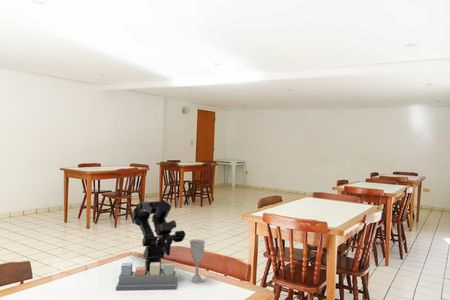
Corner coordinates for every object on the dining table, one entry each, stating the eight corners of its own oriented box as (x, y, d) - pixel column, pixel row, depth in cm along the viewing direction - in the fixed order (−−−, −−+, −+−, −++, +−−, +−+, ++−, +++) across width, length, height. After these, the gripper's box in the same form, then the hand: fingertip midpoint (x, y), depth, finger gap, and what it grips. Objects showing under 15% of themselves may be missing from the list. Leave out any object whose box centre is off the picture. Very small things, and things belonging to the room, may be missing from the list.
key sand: (160, 274, 162) (160, 262, 162) (159, 278, 158) (159, 265, 158) (150, 274, 162) (150, 262, 161) (149, 278, 158) (149, 265, 157)
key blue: (132, 275, 161) (132, 262, 161) (130, 278, 157) (130, 265, 157) (122, 275, 161) (123, 262, 160) (121, 278, 157) (121, 265, 156)
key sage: (173, 274, 162) (173, 262, 162) (173, 277, 158) (173, 265, 158) (164, 274, 162) (164, 262, 162) (163, 277, 158) (164, 265, 158)
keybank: (177, 280, 166) (177, 269, 166) (176, 289, 156) (176, 277, 156) (120, 281, 163) (120, 270, 163) (115, 290, 154) (116, 278, 153)
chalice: (207, 279, 167) (208, 240, 166) (200, 285, 161) (201, 244, 160) (193, 277, 170) (194, 238, 169) (185, 282, 164) (186, 241, 163)
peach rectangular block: (146, 279, 161) (146, 266, 161) (144, 282, 157) (145, 269, 157) (136, 279, 161) (137, 266, 161) (135, 282, 157) (135, 269, 157)
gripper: (144, 216, 160) (152, 248, 150) (184, 212, 169) (193, 242, 159) (138, 230, 167) (146, 261, 157) (177, 226, 176) (186, 255, 166)
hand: (168, 255), depth 160 cm, fingers closed
